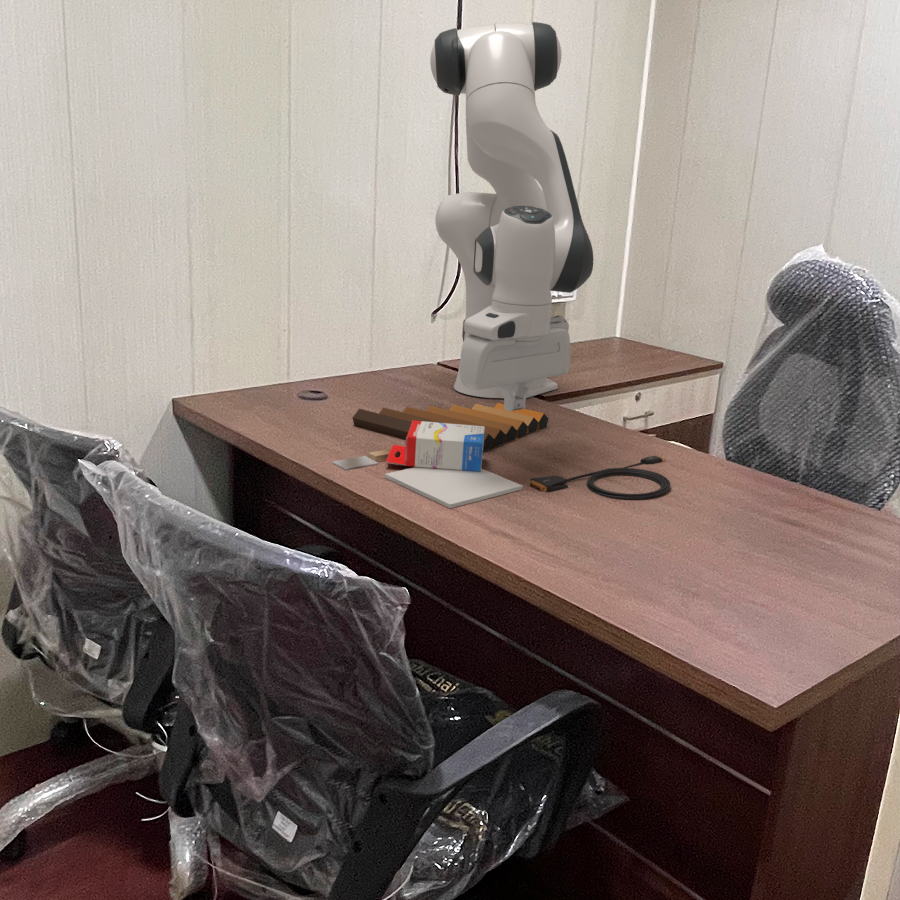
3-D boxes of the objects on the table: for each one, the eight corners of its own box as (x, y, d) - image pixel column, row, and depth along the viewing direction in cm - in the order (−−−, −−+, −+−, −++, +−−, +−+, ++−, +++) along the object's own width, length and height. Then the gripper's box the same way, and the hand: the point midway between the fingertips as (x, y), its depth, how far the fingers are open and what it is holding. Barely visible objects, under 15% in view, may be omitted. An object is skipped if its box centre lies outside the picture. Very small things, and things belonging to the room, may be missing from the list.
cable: (721, 485, 148) (722, 476, 148) (587, 517, 133) (589, 507, 132) (656, 460, 159) (657, 452, 158) (525, 487, 143) (526, 478, 143)
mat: (455, 461, 152) (456, 458, 151) (522, 489, 141) (522, 485, 141) (384, 477, 143) (384, 473, 143) (450, 508, 132) (450, 504, 132)
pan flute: (352, 429, 168) (469, 460, 154) (352, 410, 167) (470, 440, 153) (437, 403, 187) (547, 429, 173) (438, 386, 186) (549, 411, 172)
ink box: (483, 442, 144) (386, 434, 144) (481, 473, 145) (385, 465, 146) (485, 425, 152) (393, 417, 152) (482, 454, 153) (391, 447, 154)
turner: (411, 449, 157) (411, 442, 157) (425, 456, 154) (425, 449, 154) (331, 464, 148) (332, 456, 148) (345, 471, 145) (345, 464, 145)
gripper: (554, 310, 151) (547, 395, 155) (455, 322, 138) (450, 414, 143) (583, 317, 146) (575, 404, 151) (484, 329, 134) (479, 424, 138)
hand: (514, 409), depth 147 cm, fingers closed
